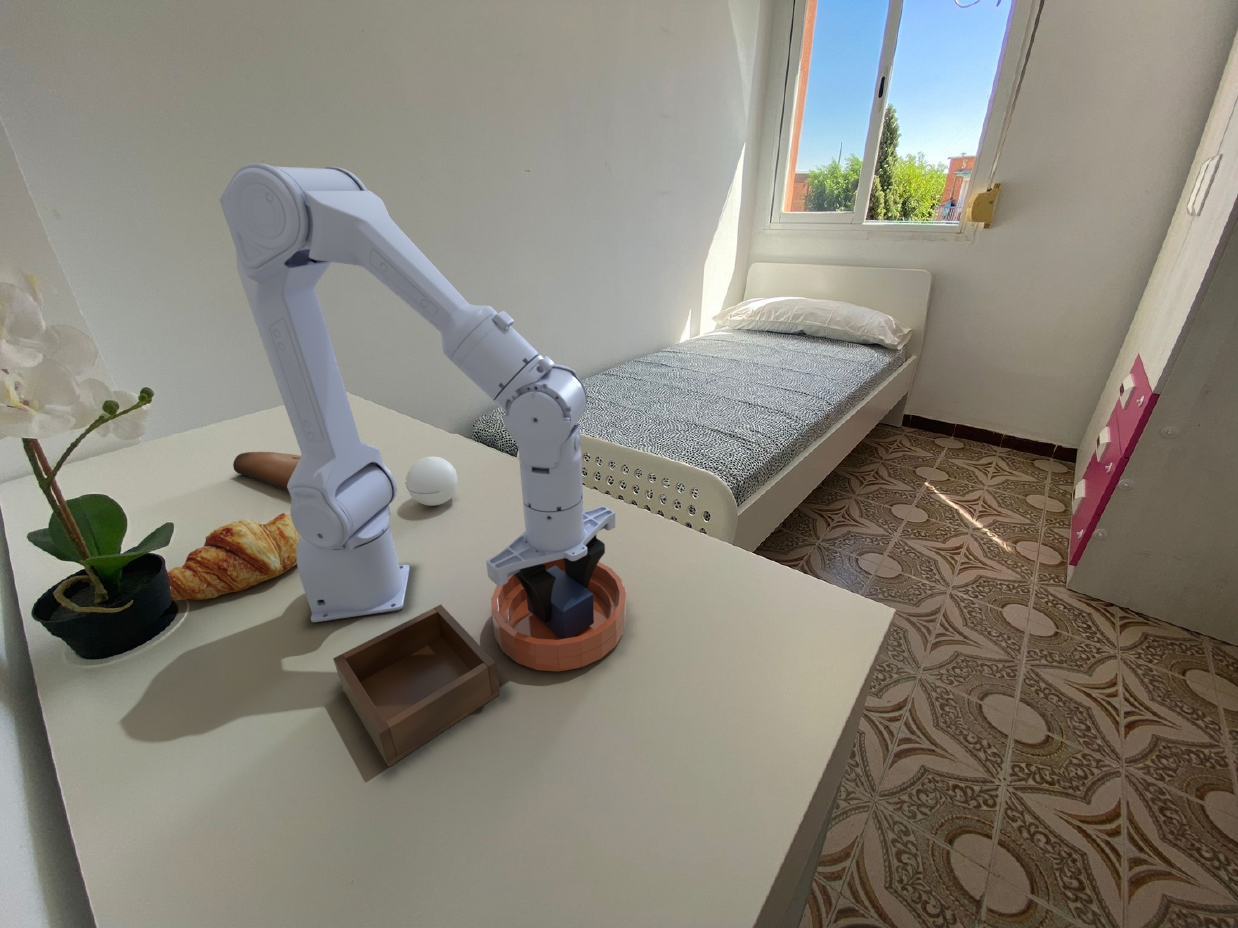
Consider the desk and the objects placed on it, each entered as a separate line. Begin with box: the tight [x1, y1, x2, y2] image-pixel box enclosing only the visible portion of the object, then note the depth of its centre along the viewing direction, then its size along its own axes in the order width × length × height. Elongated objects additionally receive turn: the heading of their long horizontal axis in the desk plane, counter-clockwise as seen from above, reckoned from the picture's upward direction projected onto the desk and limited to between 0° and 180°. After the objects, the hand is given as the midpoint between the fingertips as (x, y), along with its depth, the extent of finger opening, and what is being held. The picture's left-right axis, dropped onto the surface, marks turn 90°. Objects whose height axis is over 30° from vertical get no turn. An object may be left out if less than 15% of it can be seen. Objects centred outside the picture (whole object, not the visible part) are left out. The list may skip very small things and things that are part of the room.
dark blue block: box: [526, 566, 594, 639], centre depth 58 cm, size 4×6×4 cm, turn 43°
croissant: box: [166, 512, 301, 601], centre depth 67 cm, size 21×10×8 cm, turn 141°
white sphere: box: [398, 456, 459, 507], centre depth 80 cm, size 10×7×7 cm
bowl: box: [490, 558, 627, 672], centre depth 58 cm, size 14×14×4 cm
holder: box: [332, 604, 501, 768], centre depth 50 cm, size 11×11×4 cm
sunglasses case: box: [232, 451, 301, 493], centre depth 88 cm, size 18×7×7 cm, turn 62°
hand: (559, 606), depth 58 cm, fingers closed on dark blue block, 4 cm apart
